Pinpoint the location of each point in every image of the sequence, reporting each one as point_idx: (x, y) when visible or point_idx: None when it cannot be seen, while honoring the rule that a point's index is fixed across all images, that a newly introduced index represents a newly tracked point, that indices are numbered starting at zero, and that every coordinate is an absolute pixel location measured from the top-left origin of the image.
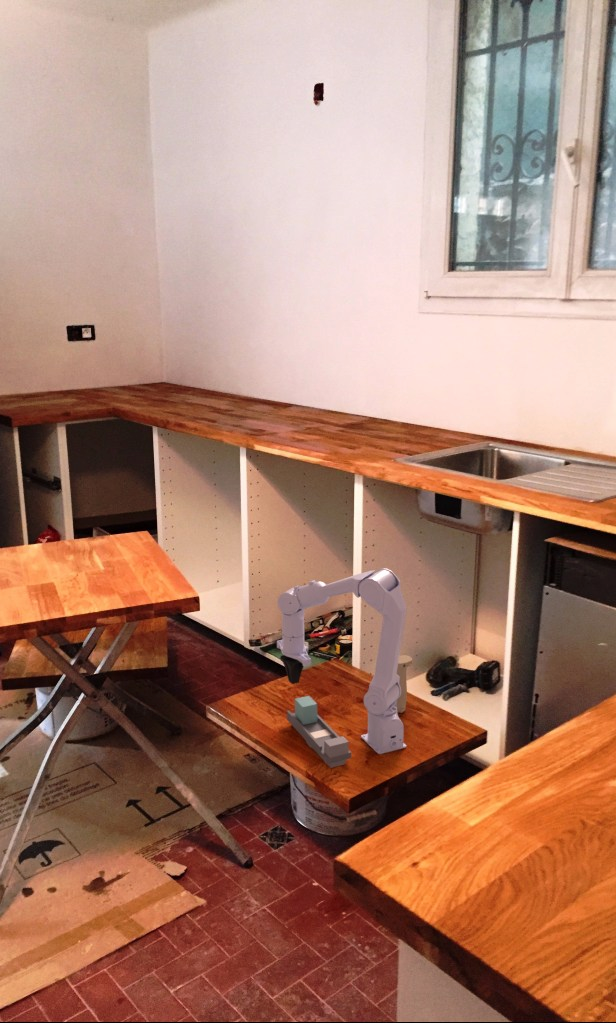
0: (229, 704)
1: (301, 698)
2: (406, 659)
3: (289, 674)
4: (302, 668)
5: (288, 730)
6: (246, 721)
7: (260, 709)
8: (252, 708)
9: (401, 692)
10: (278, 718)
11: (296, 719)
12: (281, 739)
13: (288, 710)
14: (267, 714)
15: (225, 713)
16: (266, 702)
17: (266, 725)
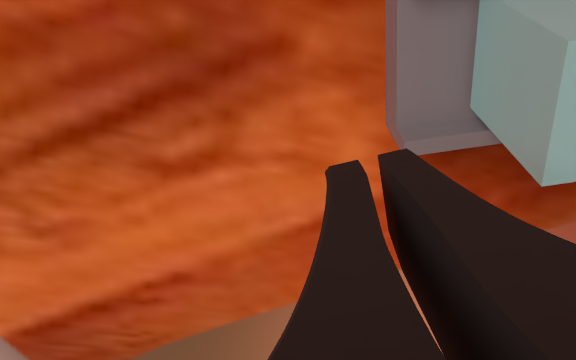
0: (40, 331)
1: (574, 130)
2: None
3: (437, 338)
4: (567, 248)
5: None
6: (254, 287)
7: (132, 207)
8: (110, 243)
9: None
10: (278, 137)
11: None
12: (513, 172)
13: (405, 146)
14: (207, 184)
15: (141, 353)
16: (37, 159)
17: None
